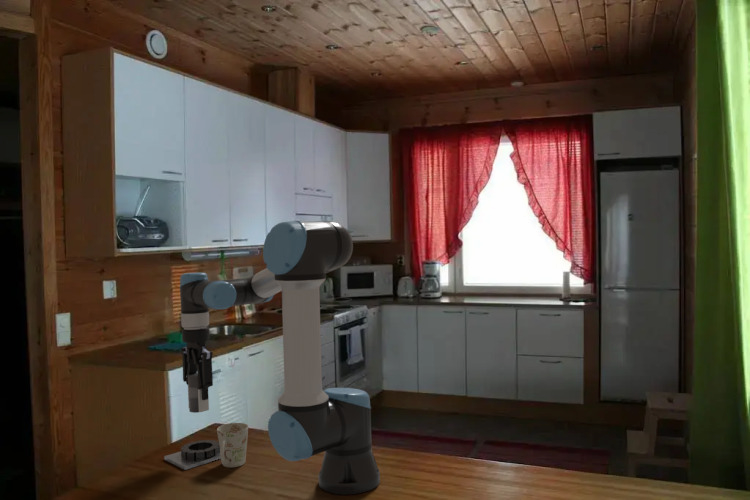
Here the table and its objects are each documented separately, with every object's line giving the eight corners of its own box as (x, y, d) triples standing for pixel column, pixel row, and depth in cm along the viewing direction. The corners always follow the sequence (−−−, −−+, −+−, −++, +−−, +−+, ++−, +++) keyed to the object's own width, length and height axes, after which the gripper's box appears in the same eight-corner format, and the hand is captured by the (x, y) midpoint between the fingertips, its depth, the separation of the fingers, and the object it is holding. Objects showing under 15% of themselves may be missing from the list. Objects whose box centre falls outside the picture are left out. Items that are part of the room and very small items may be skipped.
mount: (236, 453, 175) (236, 443, 175) (185, 470, 163) (184, 459, 163) (215, 444, 183) (214, 434, 183) (164, 459, 172) (164, 449, 172)
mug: (253, 458, 171) (252, 422, 171) (239, 475, 158) (237, 437, 158) (224, 458, 172) (223, 422, 171) (207, 475, 159) (206, 437, 159)
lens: (211, 409, 173) (210, 374, 173) (194, 413, 169) (193, 377, 169) (202, 406, 177) (200, 372, 176) (185, 410, 173) (184, 375, 173)
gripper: (224, 328, 169) (227, 411, 169) (192, 323, 182) (194, 400, 182) (199, 331, 163) (202, 418, 164) (168, 326, 176) (171, 406, 177)
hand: (198, 408), depth 173 cm, fingers closed on lens, 5 cm apart
